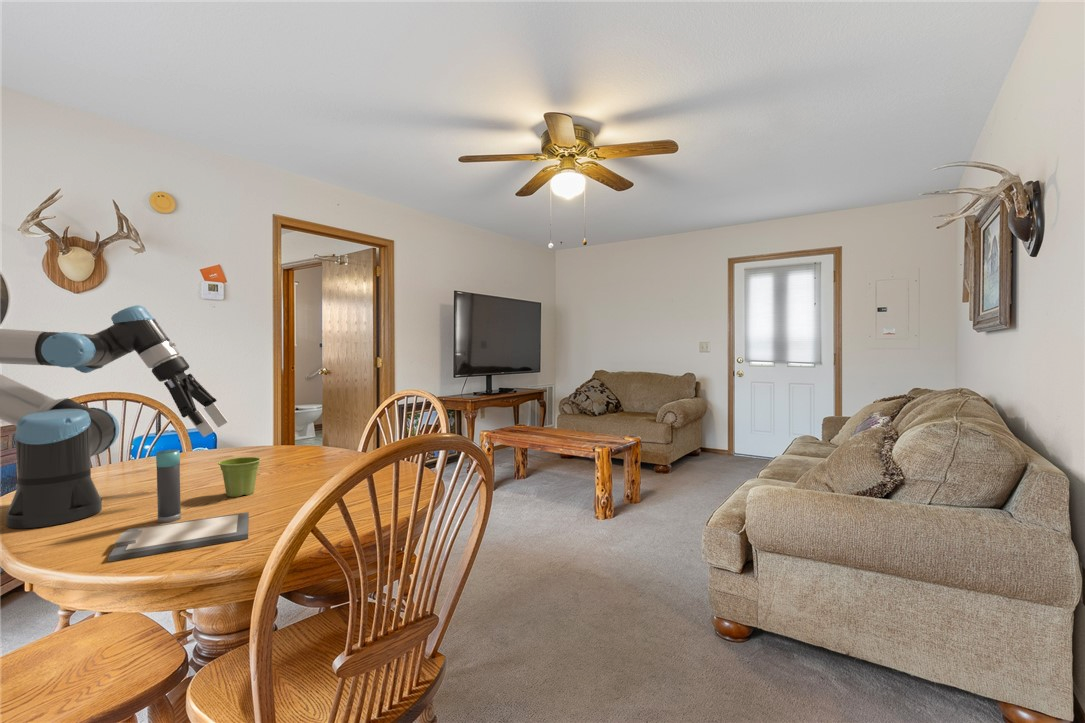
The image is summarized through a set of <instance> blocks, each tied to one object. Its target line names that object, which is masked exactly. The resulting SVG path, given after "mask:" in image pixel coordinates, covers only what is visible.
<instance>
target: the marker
mask: <svg viewBox="0 0 1085 723" xmlns="http://www.w3.org/2000/svg"><path fill="white" fill-rule="evenodd" d="M155 457H156V459H155V460H156V463H155V464H156V465H155V466H156V489H157V490H156V491H157V492H156V498H157V503H156V504H157V523H159V524H163V523H164V524H169V523H174V522H176V520H177V521H179V520H181V519H182V516H181V515H182V511H181V466H180V464H181V454H180V449H165V450H160V451H156V453H155Z"/></svg>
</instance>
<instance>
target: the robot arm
mask: <svg viewBox="0 0 1085 723" xmlns="http://www.w3.org/2000/svg"><path fill="white" fill-rule="evenodd" d="M111 322H112V325H111V326H109V327H107V328H105V329H102V330H101V331H98V332H96V333H94V334H91V333H90V334H87V333H78V332H77V333H76V332H64V331H63V332H59V331H58V332H57V331H56V332H55V331H42V330H41V331H40V330H27V329H10V328H7V329H6V328H0V364H2V365H3V364H4V365H25V366H26V365H30V366H49V367H52V366H53V367H60V368H67V369H68V368H74V370H76V371H79V372H80V373H84V374H88V373H91V372H93V371H96V370H98V369H103V367H105V366H106V365H108V364H110V363H113V362H114V361H116V360H118V359H121V357H124V356H126V355H128V354H130V353H133V352H136V353H137V355H138V356H139V358H140V360H142V362H143V363H144V364H145V365H146V367H147V368H148V369H151V373H152V374H153V375H154V377H155V378H156V379H157V381H158V382H163V385H165V387H166V389H167V390H168V391H169V394H170V395H171V398H172V399H173V402H174V403H175V406H176V407H177V409H178V412H179V413H180V416H181V417H182V418H183V419H184V418H186V417H187V418H188V419H189V420H190V422H191V423H192V424H193V426H194V427H195V428H196V429H197V431H198V432H199V434H201V436H202V437H203V438H206V437H207V436H209V435H211V434H212V433H214V432H215V428H213V426H212V424H210V423H209V421H208V419H207V418H206V417H205V416H204V414H203V412H201V411H200V410H199V409H197V407H196V404H195V402H194V399H195V401H197V402H198V403H199V404H200V405H202V406H203V409H204V411H205V412H206V413H207V415H208V416H209V417H210V419H211V420H212V421H213V423H214V424H215V426H216V427H217V428H220V427H222V426H224V425H225V424H227V423H229V420H228V419H227V418H226V417H225V415H224V414H223V413H222V412H221V409H219V407H218V406H217V405H216V403H215V402H217V398H215V397H213V396H212V395H211V393H209V391H208V390H206V389H205V387H203V385H201V383H200V382H198V380H197V379H196V377H194V375H193V374H192V373H188V374H186V373H185V371H187V370H189V369H190V365H189V363H188V362H187V360H186V359H185V358H184V357H183V356H182V355H180V351H179V350H178V349H177V348H176V347H177V344H176V343H175V342H172V341H171V339H170V338H169V337H168V335H167V334H166V333H165V332H164V330H163V329H162V327H161V326H160V325H159V323H158V322H157V320H156V318H154V317H153V315H152V314H151V313H150V311H148V310H147V309H146V307H145V306H142V305H132V306H129V307H125V308H124V309H121V310H119V311H117V312H116V313H115V312H114V314H112V315H111ZM0 420H2V421H4V422H7V423H9V424H11V425H13V426H15V427H16V428H15V432H14V438H15V448H16V473H17V474H16V476H17V488H16V490H15V493H14V496H13V497H12V500H11V503H10V505H9V507H8V510H7V513H6V515H5V516H6V517H5V518H6V520H5V521H6V523H5V524H6V527H8V528H10V529H11V528H13V529H33V528H35V529H36V528H41V527H42V528H43V527H44V528H45V527H51V526H56V525H62V524H66V523H71V522H72V523H73V522H74V521H75V522H77V521H78V520H82V519H83V520H84V519H86V518H89V517H91V516H94V515H97V514H98V513H100V512H101V511H102V509H103V503H102V498H101V495H100V494H99V491H98V490H97V487H96V485H95V483H94V481H93V479H92V475H91V474H92V473H91V472H92V469H91V464H92V462H91V457H94V456H97V455H99V454H102V453H103V452H105V451H107V450H108V449H109V448H111V446H113V445H114V444H115V442H116V441H117V439H118V438H119V434H120V424H119V421H118V419H117V418H116V416H114V415H113V414H112V413H111V412H110V411H108V410H106V409H103V408H99V407H88V406H87V405H83V404H82V403H79V402H77V401H75V400H73V399H71V398H69V397H64V398H63V397H62V398H58V399H55V398H53V397H50V396H48V395H47V394H44V393H42V392H39V391H38V390H36V389H34V388H31V387H29V386H27V385H25V384H22V383H20V382H18V381H16V380H15V379H12V378H9V377H7V376H5V375H4V374H1V373H0Z"/></svg>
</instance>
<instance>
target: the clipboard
mask: <svg viewBox="0 0 1085 723" xmlns="http://www.w3.org/2000/svg"><path fill="white" fill-rule="evenodd" d="M249 514H250V513H249V511H246V512H241V513H233V514H226V515H218V516H212V517H205V518H197V519H192V520H191V519H190V520H184V521H177V522H176V521H175V522H168V523H164V524H163V523H161V524H157V525H155V524H154V525H150V526H144V527H143V526H141V527H136V528H129V529H127V530H125V531H124V532H121V534H120V535H119V536H118V538H117V539H116V541H115V542H114V548H113V549H112V551H111V552H110V554H109V555H108V562H109V563H111V562H116V561H121V560H127V559H135V558H139V557H141V558H142V557H147V556H152V555H158V554H159V555H160V554H164V553H168V552H170V553H171V552H176V551H182V550H189V549H193V548H194V549H195V548H199V547H206V546H211V545H218V544H225V543H230V542H236V541H241V540H242V541H243V540H249V527H250V526H249V521H250V520H249V518H250V515H249Z"/></svg>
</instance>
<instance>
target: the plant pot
mask: <svg viewBox="0 0 1085 723" xmlns="http://www.w3.org/2000/svg"><path fill="white" fill-rule="evenodd" d="M261 461H262V458H261V457H257V456H242V457H241V456H239V457H232V458H228V459H222V460H220V461H218V463H217V464H218V465H219V466H220V470H221V472H222V478H223V483H224V488H225V494H226V495H225V496H228V497H229V498H230V497H231V498H232V497H234V498H236V497H237V498H239V497H242V496H243V495H246V496H249V495H251V494H254V492H255V486H256V480H257V473H258V467H260V462H261Z"/></svg>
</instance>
